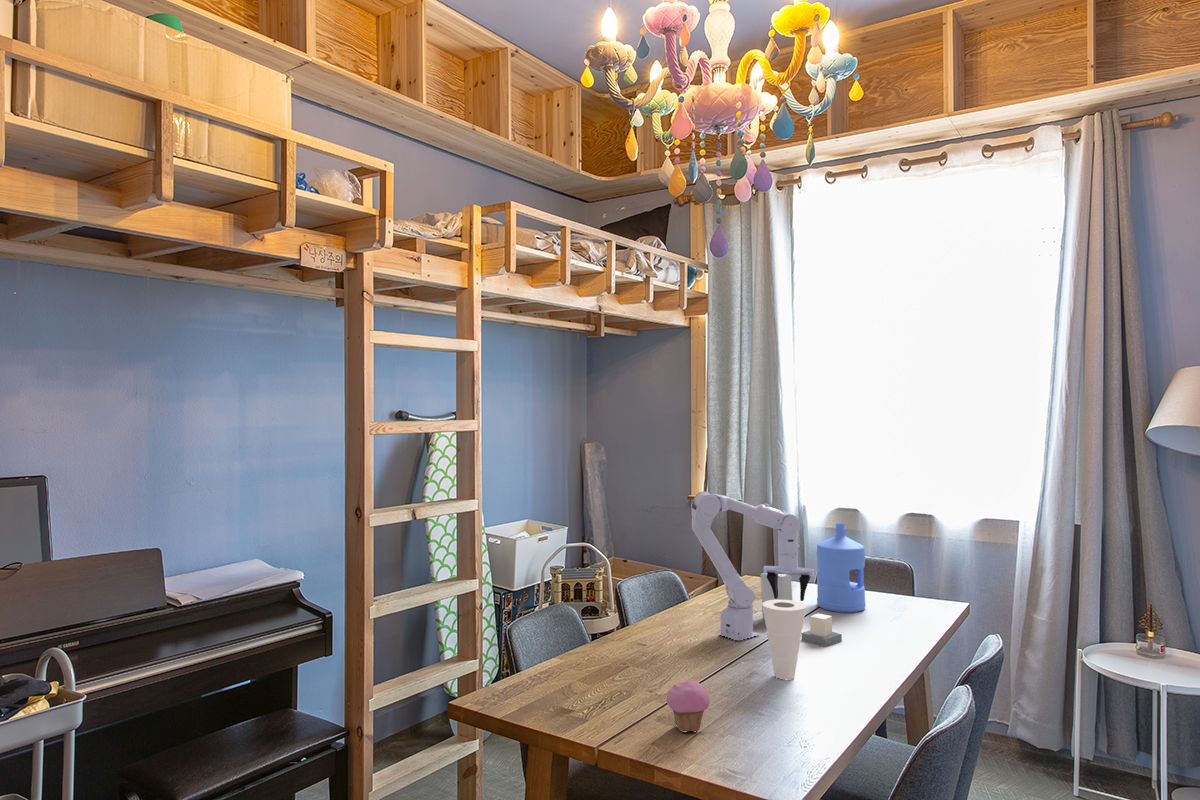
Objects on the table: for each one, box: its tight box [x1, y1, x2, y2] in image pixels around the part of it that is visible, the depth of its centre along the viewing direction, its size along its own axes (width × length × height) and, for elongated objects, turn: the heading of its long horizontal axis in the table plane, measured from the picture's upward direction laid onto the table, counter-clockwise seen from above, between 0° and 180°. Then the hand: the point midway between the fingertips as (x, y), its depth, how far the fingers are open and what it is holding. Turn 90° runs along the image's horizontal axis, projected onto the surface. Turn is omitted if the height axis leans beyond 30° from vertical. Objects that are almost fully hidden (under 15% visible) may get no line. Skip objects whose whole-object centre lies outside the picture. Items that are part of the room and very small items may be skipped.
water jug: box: [816, 523, 866, 613], centre depth 255 cm, size 16×16×28 cm
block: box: [809, 613, 833, 637], centre depth 218 cm, size 4×4×5 cm
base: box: [801, 630, 843, 647], centre depth 218 cm, size 8×8×2 cm
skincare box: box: [760, 572, 793, 620], centre depth 240 cm, size 8×6×15 cm
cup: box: [761, 599, 807, 680], centre depth 188 cm, size 11×11×18 cm
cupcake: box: [666, 679, 710, 732], centre depth 157 cm, size 9×9×10 cm
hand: (789, 599), depth 224 cm, fingers open, 7 cm apart
